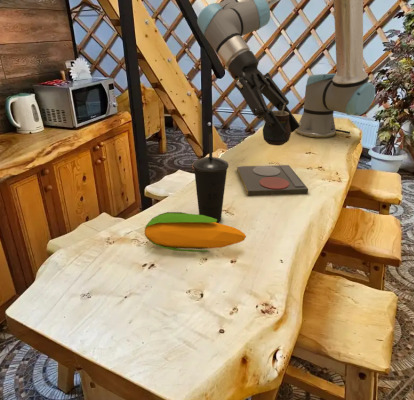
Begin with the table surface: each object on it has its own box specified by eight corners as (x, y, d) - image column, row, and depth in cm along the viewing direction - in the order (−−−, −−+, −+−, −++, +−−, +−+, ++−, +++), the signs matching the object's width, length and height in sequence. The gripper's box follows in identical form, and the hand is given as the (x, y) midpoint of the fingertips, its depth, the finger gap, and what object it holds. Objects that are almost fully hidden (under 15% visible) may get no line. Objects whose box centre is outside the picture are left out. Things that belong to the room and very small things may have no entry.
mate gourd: (258, 145, 95) (260, 106, 90) (266, 137, 101) (269, 100, 97) (286, 149, 92) (289, 108, 88) (292, 140, 99) (296, 102, 94)
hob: (288, 169, 113) (288, 164, 113) (307, 194, 97) (308, 188, 96) (236, 171, 112) (237, 165, 111) (247, 196, 96) (248, 190, 95)
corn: (148, 202, 75) (247, 207, 73) (151, 233, 78) (245, 239, 76) (138, 222, 68) (246, 229, 66) (142, 255, 72) (244, 262, 70)
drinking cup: (188, 215, 86) (186, 131, 77) (218, 209, 89) (219, 128, 80) (200, 231, 80) (200, 141, 71) (232, 224, 82) (236, 137, 74)
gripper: (250, 66, 105) (296, 132, 103) (206, 72, 91) (258, 149, 89) (268, 47, 99) (316, 116, 97) (224, 50, 86) (280, 131, 84)
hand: (288, 132), depth 93 cm, fingers closed on mate gourd, 7 cm apart
